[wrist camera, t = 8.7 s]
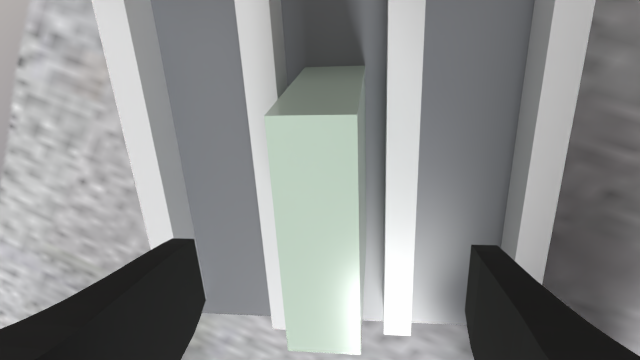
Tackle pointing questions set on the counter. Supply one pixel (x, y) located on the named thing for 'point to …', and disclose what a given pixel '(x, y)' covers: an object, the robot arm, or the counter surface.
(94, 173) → the counter surface
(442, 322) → the rack
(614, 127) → the counter surface
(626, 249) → the counter surface
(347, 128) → the mint green upright block
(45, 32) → the counter surface
